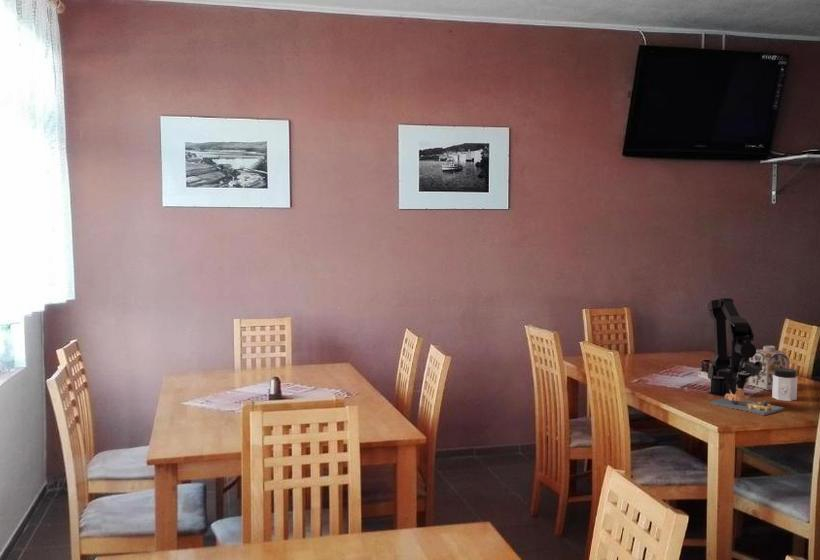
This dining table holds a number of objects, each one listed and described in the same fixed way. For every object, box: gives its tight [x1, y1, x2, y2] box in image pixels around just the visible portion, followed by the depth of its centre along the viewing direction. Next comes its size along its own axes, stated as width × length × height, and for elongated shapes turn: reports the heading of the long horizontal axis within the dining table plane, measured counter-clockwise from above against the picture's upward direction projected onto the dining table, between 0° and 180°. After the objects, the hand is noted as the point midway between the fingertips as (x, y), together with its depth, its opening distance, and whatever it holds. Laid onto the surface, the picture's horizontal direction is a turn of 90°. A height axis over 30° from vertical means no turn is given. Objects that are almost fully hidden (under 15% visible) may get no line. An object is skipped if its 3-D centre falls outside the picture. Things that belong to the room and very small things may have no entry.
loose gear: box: [724, 387, 750, 401], centre depth 290 cm, size 9×9×4 cm
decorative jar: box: [747, 345, 790, 391], centre depth 324 cm, size 12×12×18 cm
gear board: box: [710, 397, 785, 416], centre depth 288 cm, size 22×14×4 cm, turn 35°
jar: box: [771, 367, 799, 402], centre depth 302 cm, size 9×8×12 cm
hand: (737, 393), depth 290 cm, fingers closed on loose gear, 4 cm apart
